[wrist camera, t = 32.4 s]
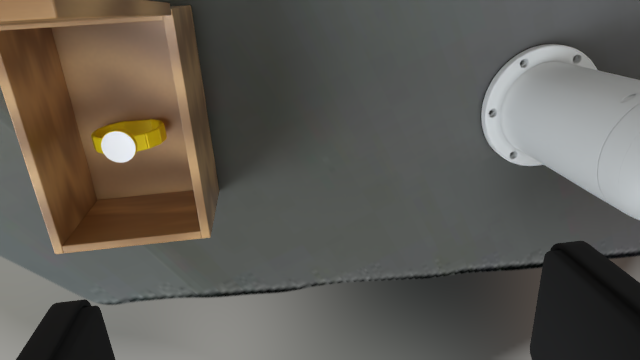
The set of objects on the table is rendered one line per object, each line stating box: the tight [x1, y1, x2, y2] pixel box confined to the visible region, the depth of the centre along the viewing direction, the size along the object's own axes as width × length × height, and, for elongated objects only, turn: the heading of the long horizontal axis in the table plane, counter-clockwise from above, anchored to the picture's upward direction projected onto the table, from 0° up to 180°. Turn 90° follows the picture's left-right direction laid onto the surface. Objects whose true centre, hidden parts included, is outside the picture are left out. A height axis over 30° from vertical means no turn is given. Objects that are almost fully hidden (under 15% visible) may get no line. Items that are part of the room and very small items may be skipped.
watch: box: [91, 119, 167, 163], centre depth 40 cm, size 6×3×6 cm, turn 94°
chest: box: [0, 5, 219, 254], centre depth 38 cm, size 18×12×10 cm
